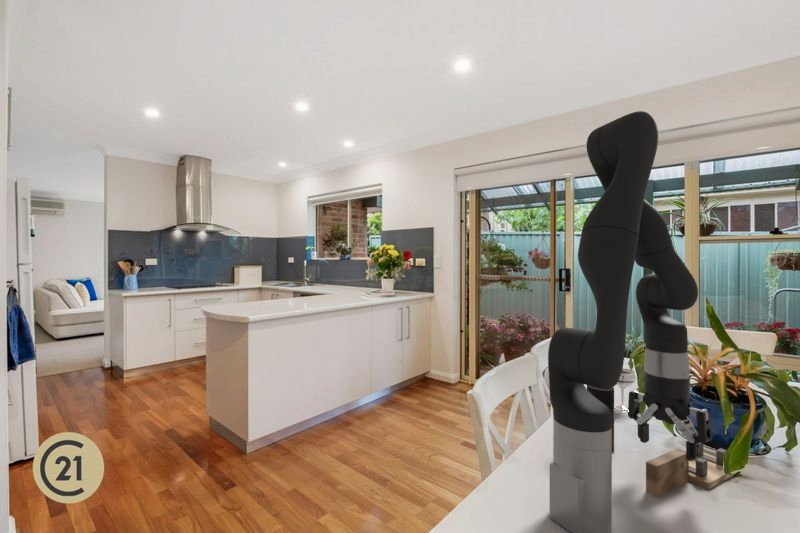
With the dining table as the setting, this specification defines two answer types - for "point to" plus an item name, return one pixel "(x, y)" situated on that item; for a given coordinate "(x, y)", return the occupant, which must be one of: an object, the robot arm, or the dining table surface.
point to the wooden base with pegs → (708, 469)
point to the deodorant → (605, 402)
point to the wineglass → (625, 383)
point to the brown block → (666, 472)
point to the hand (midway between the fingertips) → (666, 450)
